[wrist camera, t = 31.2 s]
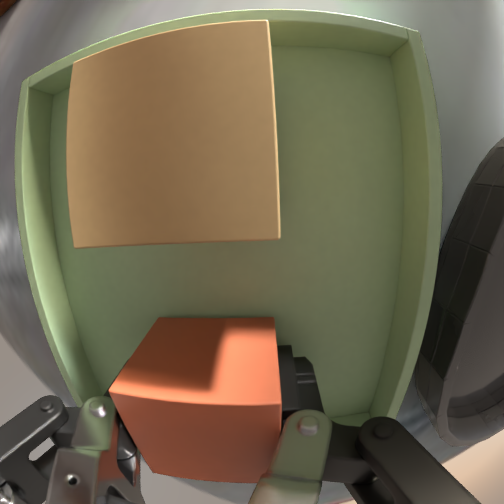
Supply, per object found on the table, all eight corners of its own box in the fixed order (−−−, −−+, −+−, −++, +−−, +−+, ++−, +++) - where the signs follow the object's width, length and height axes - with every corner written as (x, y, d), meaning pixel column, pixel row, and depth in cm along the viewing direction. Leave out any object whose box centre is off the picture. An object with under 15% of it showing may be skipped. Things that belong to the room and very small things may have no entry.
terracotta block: (274, 316, 10) (281, 402, 5) (274, 400, 11) (278, 483, 7) (158, 316, 10) (107, 389, 6) (178, 398, 11) (152, 473, 7)
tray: (394, 53, 8) (419, 31, 5) (374, 410, 12) (386, 439, 10) (52, 90, 8) (21, 80, 6) (107, 405, 13) (91, 431, 10)
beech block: (265, 87, 8) (268, 18, 4) (272, 213, 9) (281, 240, 5) (143, 102, 8) (72, 61, 4) (147, 220, 9) (72, 249, 5)
